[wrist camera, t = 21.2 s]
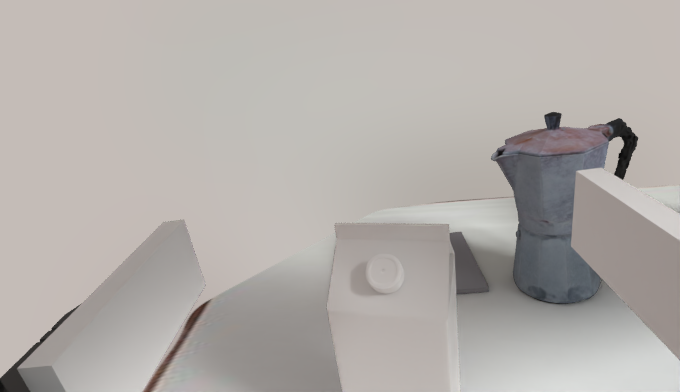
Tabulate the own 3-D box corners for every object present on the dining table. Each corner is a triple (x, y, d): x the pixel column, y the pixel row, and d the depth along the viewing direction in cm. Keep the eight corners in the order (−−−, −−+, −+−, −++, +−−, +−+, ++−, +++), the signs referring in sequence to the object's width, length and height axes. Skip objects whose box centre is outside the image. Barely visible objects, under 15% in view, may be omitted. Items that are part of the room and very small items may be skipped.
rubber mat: (461, 235, 60) (461, 231, 60) (488, 291, 48) (488, 287, 47) (341, 247, 62) (340, 244, 62) (336, 304, 49) (335, 300, 49)
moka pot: (474, 273, 51) (471, 115, 44) (585, 247, 53) (600, 92, 46) (519, 320, 42) (523, 133, 35) (650, 288, 44) (680, 103, 37)
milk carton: (378, 396, 36) (350, 201, 29) (461, 409, 34) (452, 200, 27) (357, 476, 30) (315, 252, 23) (457, 498, 28) (444, 256, 21)
